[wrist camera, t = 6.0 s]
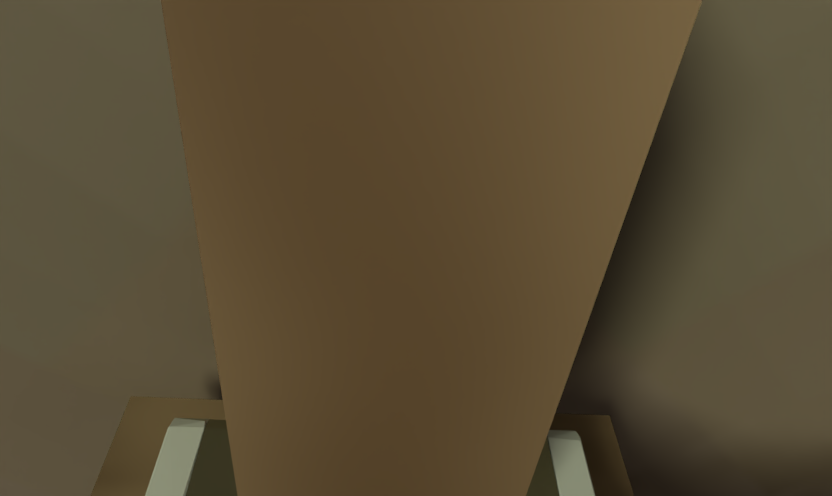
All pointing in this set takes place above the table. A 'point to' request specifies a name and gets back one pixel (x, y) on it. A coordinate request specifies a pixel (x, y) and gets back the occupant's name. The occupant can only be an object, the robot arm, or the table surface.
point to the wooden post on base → (404, 232)
